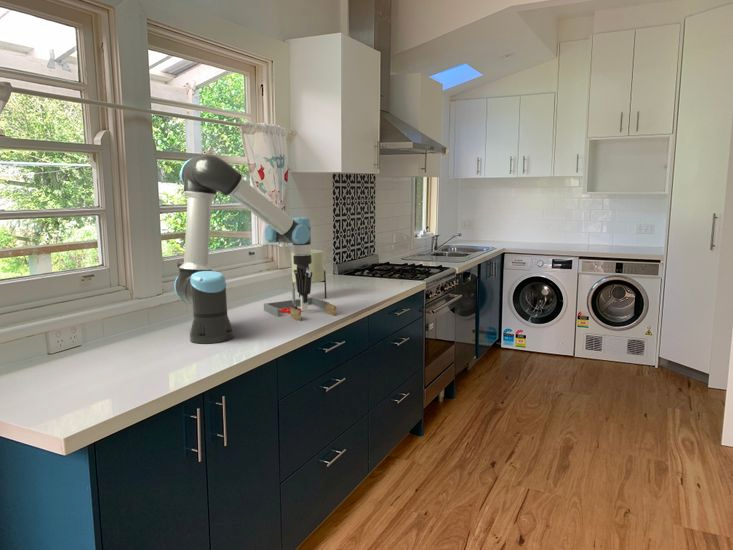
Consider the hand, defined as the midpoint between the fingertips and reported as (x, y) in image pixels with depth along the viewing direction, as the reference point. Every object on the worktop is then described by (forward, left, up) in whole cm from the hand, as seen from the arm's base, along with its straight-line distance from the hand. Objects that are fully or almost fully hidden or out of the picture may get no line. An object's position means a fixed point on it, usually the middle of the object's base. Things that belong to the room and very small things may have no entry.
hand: (304, 309), depth 239 cm
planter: (+15, +28, -2) cm, 32 cm away
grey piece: (0, +9, -1) cm, 9 cm away
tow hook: (-3, +8, -2) cm, 9 cm away
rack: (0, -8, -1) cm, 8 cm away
